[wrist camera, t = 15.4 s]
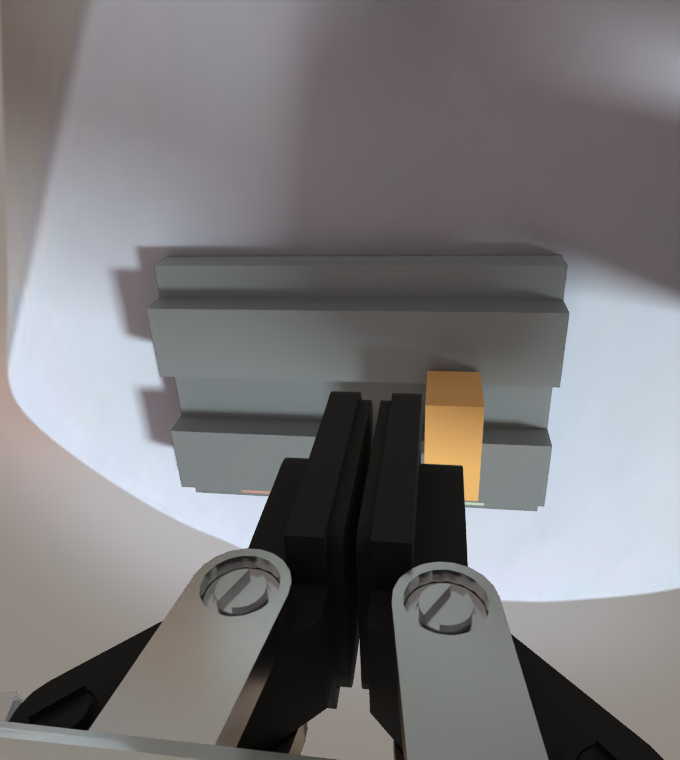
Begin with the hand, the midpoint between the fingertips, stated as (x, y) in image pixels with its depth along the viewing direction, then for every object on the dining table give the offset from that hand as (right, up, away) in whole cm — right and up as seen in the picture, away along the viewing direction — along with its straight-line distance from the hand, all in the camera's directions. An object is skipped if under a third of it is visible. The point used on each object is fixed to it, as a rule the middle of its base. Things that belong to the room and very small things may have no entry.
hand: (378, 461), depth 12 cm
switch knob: (+6, 0, +27) cm, 28 cm away
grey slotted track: (+1, +1, +30) cm, 30 cm away
